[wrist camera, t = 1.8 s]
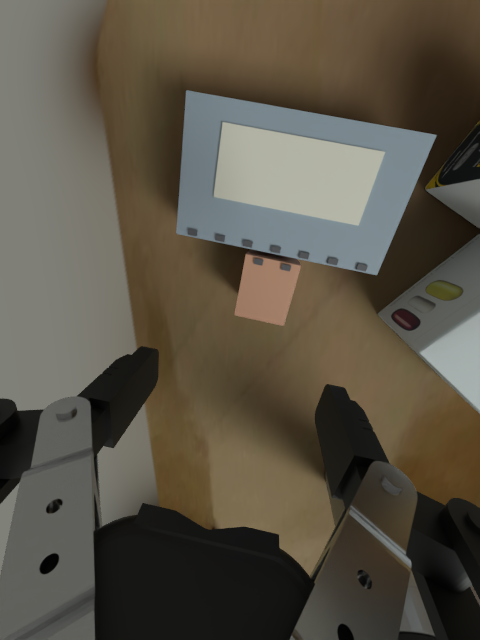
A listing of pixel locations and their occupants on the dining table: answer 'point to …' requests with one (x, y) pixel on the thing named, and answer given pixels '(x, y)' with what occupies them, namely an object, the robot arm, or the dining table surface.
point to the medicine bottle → (461, 179)
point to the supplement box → (445, 320)
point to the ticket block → (295, 181)
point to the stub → (267, 286)
